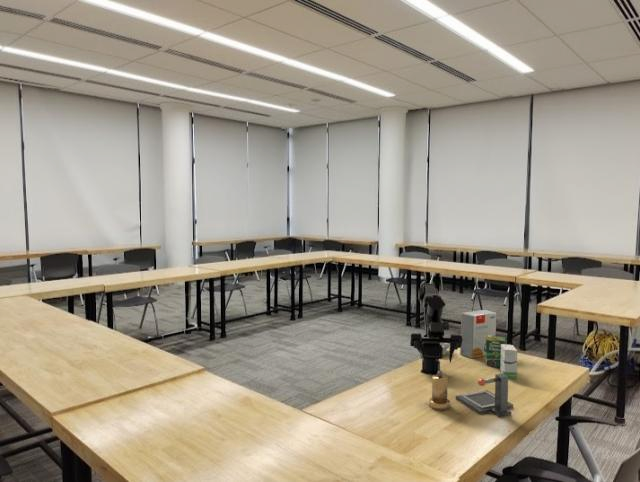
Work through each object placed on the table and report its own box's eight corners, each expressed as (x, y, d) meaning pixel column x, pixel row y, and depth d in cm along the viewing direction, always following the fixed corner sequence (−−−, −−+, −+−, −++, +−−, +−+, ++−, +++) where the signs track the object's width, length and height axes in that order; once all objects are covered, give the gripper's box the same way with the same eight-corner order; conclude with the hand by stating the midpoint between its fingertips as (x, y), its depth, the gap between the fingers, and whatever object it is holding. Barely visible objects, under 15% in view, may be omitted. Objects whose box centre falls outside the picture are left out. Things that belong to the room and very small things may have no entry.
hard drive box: (471, 359, 203) (472, 316, 202) (459, 354, 210) (460, 312, 209) (495, 353, 210) (496, 312, 209) (483, 349, 217) (483, 309, 216)
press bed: (450, 400, 160) (450, 364, 159) (487, 393, 166) (487, 358, 165) (482, 421, 144) (483, 381, 143) (521, 412, 150) (522, 374, 149)
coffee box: (485, 365, 195) (485, 336, 194) (486, 363, 197) (487, 334, 196) (504, 368, 191) (505, 338, 190) (505, 366, 193) (506, 337, 192)
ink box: (517, 379, 179) (517, 350, 178) (504, 378, 180) (504, 349, 179) (512, 371, 187) (513, 344, 186) (499, 371, 188) (500, 343, 187)
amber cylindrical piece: (426, 407, 154) (426, 372, 153) (433, 400, 160) (433, 366, 159) (445, 412, 150) (446, 376, 149) (452, 405, 156) (453, 370, 155)
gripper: (410, 312, 167) (412, 350, 157) (462, 313, 165) (467, 352, 154) (409, 327, 176) (410, 364, 165) (458, 328, 173) (462, 366, 163)
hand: (437, 361), depth 162 cm, fingers open, 9 cm apart
